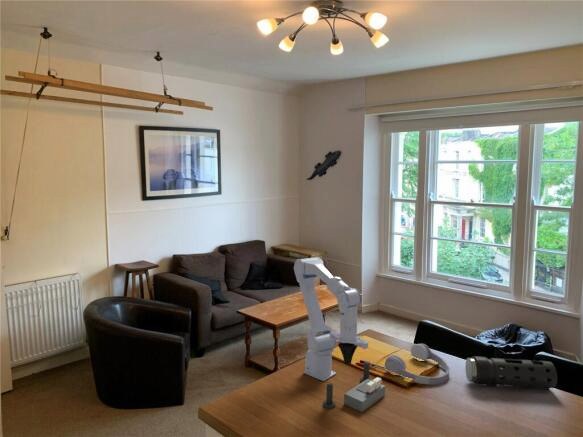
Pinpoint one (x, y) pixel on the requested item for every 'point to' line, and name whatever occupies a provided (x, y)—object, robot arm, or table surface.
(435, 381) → the headphones
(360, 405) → the block
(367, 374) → the cord stand
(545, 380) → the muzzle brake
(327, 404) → the post
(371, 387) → the block
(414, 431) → the table surface
